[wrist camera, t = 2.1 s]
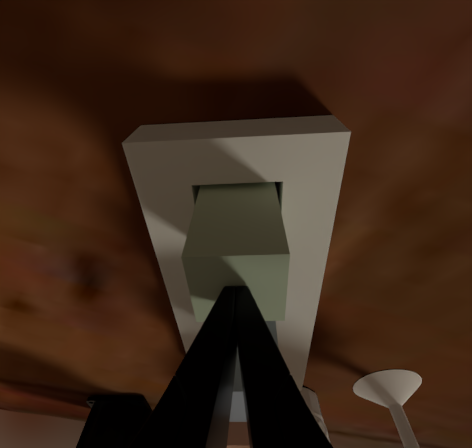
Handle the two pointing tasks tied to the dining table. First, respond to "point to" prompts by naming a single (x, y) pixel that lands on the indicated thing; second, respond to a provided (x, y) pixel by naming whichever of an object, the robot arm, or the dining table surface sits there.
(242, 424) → the terracotta button
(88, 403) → the robot arm
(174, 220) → the button board
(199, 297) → the pale green block
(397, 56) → the dining table surface
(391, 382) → the champagne flute
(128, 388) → the dining table surface
